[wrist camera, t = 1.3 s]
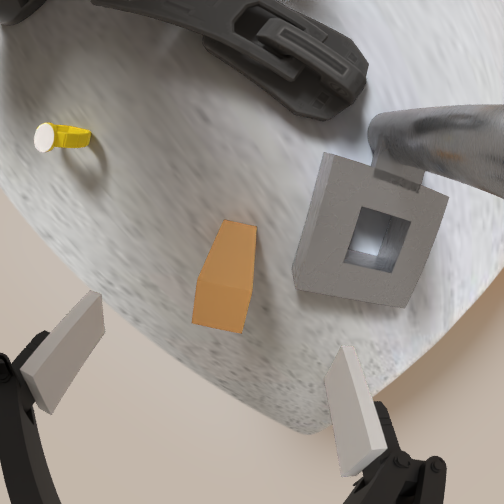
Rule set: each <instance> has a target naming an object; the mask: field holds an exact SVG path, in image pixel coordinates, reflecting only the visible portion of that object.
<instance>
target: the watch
mask: <svg viewBox="0 0 504 504" xmlns="http://www.w3.org/2000/svg"><path fill="white" fill-rule="evenodd" d="M90 137H91V131H89V130H86V129H82V128H77V127H72V126H67V125H54V124H53V123H43V124H41V125H40V126H38V127H37V130H36V132H35V136H34V144H35V147H36V149H37V150H38V151H40V152H49V151H51V150H52V149H53V148H54V147H61V148H63V147H64V148H81V147H86V146H87V145H89V142H90Z"/></svg>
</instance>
